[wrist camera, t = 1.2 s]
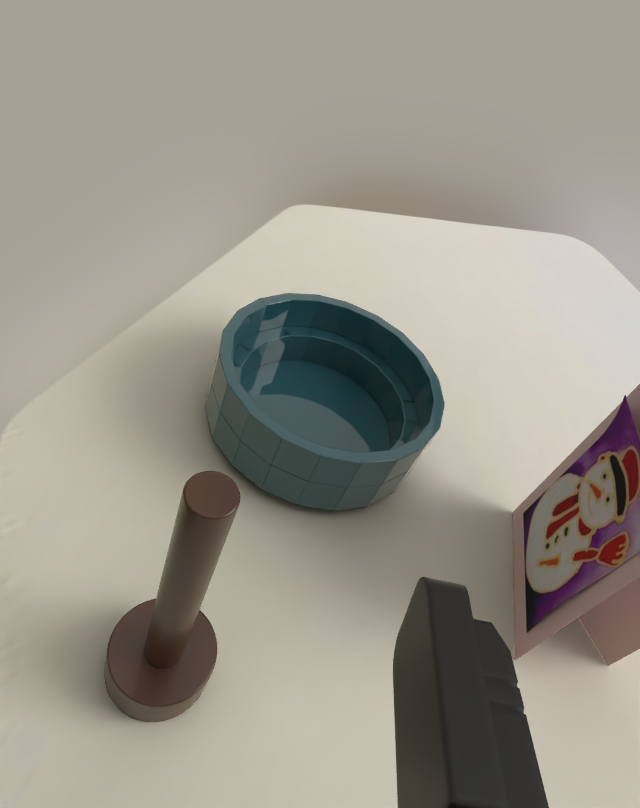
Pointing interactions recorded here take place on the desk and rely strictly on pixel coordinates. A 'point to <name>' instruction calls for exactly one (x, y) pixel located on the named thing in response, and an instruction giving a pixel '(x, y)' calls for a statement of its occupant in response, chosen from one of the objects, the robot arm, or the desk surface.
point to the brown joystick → (174, 612)
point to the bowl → (321, 401)
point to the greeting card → (584, 542)
